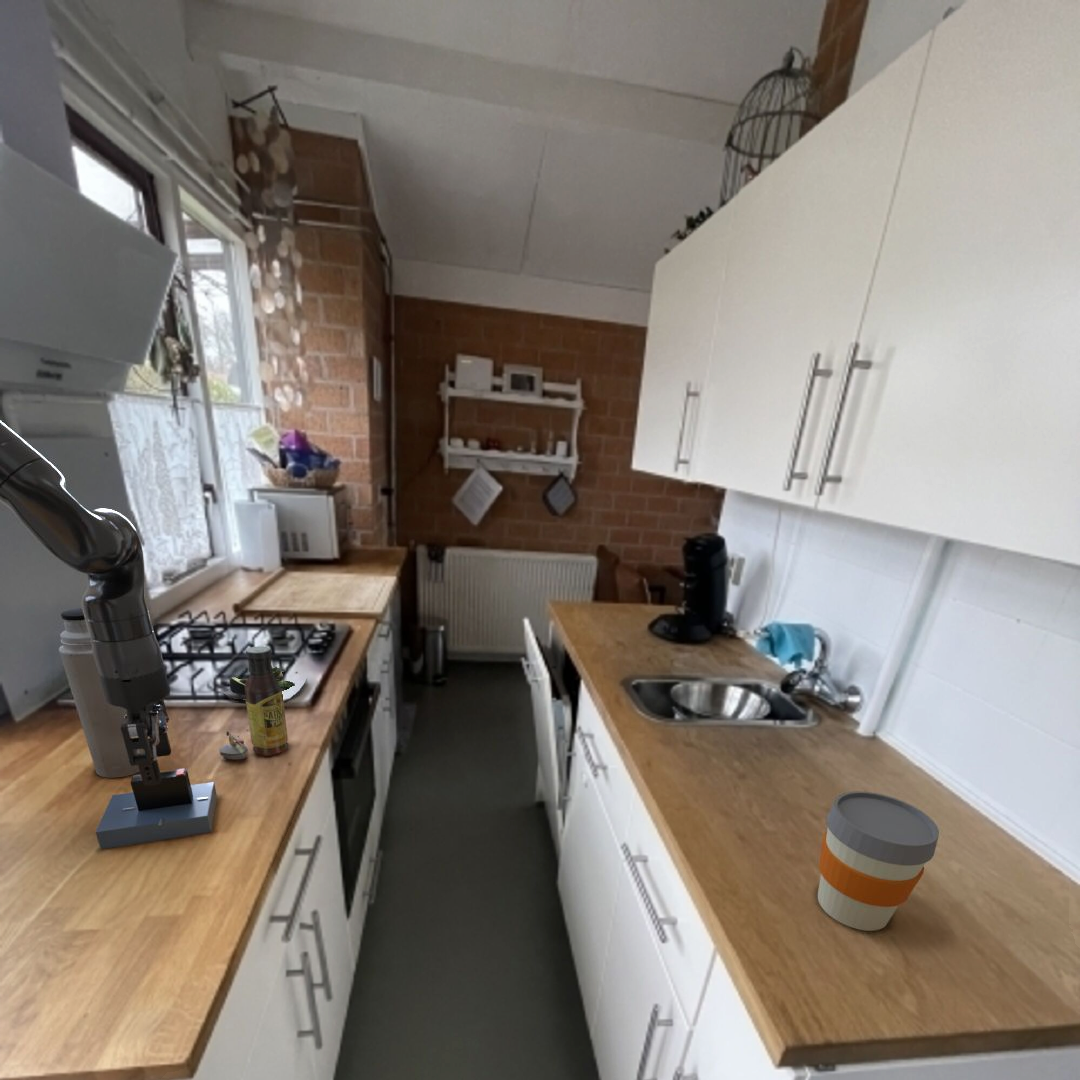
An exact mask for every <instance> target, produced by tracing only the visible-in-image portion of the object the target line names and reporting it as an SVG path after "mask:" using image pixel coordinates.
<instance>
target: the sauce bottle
mask: <svg viewBox="0 0 1080 1080" xmlns="http://www.w3.org/2000/svg"><path fill="white" fill-rule="evenodd" d="M245 657H246V659H247V661H248V662H247V663H248V672H249V673H250V676H249V678H248V680H247V682H246V684H245V693H246V703H245V705H246V712H247V719H248V726H249V733H250V740H251V744H252V750H253V752H254V753H255V754H257V755H259V756H263V757H264V756H265V757H266V756H274V755H279V754H281V753H283V752H284V751H285V750H286V749H287V748H288V745H289V744H288V740H289V738H288V729H287V720H286V712H285V711H286V710H285V703H284V702H285V701H283V694H282V690H281V688H280V686H279V684H278V682H277V680H276V678H275V676H274V673H273V669H272V666H273V664H272V651H271V648H270V647H268V646H262V645H261V646H251V647H248V648H246V649H245Z"/></svg>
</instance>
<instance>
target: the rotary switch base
mask: <svg viewBox="0 0 1080 1080" xmlns="http://www.w3.org/2000/svg"><path fill="white" fill-rule="evenodd" d="M190 785H191V789H192V793H193V800H192V803H191V804H184V805H177V806H170V807H163V808H155V809H148V810H141V811H138V808H137V804H136V800H135V797H134V793H133V791H132V792H125V793H118V794H112V795H111V797H110V800H109V802H108V804H107V806H106V808H105V810H104V812H103V815H102V817H101V819H100V821H99V823H98V825H97V828H96V830H95V836H96V839H97V842H98V845H99V848H100V850H104V849H112V848H118V847H124V846H131V845H137V844H144V843H150V842H156V841H157V842H158V841H162V840H163V841H164V840H170V839H176V838H182V837H188V836H189V837H190V836H195V835H201V834H208V833H212V828H213V824H214V817H215V813H216V806H217V802H218V794H217V789H216V784H215V782H214V781H211V782H202V783H194V784H190Z"/></svg>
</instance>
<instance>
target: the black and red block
mask: <svg viewBox="0 0 1080 1080" xmlns="http://www.w3.org/2000/svg"><path fill="white" fill-rule="evenodd" d="M160 773H161V776H162V781H161V783H160V784H156V785H148V786H147V785H144V784H143V781H142V777H141V774H134V775H133V776H132V777H131V780H130V787H131V789H132V792H133V793H134V797H135V800H136V804H137V808H138V811H141V810H148V809H155V808H163V807H170V806H177V805H184V804H191V803H192V800H193V793H192V789H191V785H192V784H191V781H190V776H189V771H188V769H187V768H185V767H183V768H177V769H176V770H167V771H160Z"/></svg>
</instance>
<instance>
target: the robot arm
mask: <svg viewBox="0 0 1080 1080" xmlns="http://www.w3.org/2000/svg"><path fill="white" fill-rule="evenodd" d="M66 483H67V482H66V479H65V477H64V475H63V474H62V472H60V470H58V468H57V467H56V466H54V464H52V463H51V462H50V461H48V460H47V459H46V458H45V457H44V456H43V455H42V454H41V453H40V452H38V451H37V450H36V449H35V448H33V447H32V446H31V445H30V444H29V443H28V442H27V441H25V440H24V439H23V438H22V437H21V436H19V435H18V434H17V433H16V432H15V431H14V430H12V429H11V428H10V427H8V426H7V425H6V424H5V423H4V422H2V420H0V503H2V504H3V505H4V506H6V507H7V508H8V509H10V510H11V511H12V512H13V514H14V516H16V517H17V519H18V520H19V521H20V522H21V524H22V525H23V526H24V527H25V528H26V529H27V530H28V531H29V533H31V535H32V536H33V537H34V538H35V539H36V540H37V542H39V544H41V546H42V547H43V548H44V549H46V551H47V552H48V553H49V554H51V556H53V557H54V558H55V559H57V560H58V561H60V562H61V563H62V564H64V565H66V566H67V567H69V568H70V569H73V570H75V571H77V572H79V573H82V574H86V578H87V588H86V590H85V591H84V594H83V595H82V596H81V608H82V609H83V614H84V617H85V621H86V624H87V628H88V631H89V634H90V637H91V642H92V651H93V656H94V660H95V663H96V667H97V670H98V673H99V677H100V680H101V684H102V687H103V690H104V694H105V697H106V700H107V702H108V703H109V704H111V705H113V706H117V707H118V706H119V707H122V708H125V709H126V710H127V715H125V716H124V720H125V724H122V725H121V731H122V734H123V738H124V742H125V746H126V749H127V753H128V757H129V763H130V764H131V766H135V765H138V767H139V770H140V771H139V773H140V774H139V775H141V777H142V781H143V784H144V785H147V786H148V785H156V784H160V783H161V781H162V776H161V773H160V772H161V769H160V766H159V761H158V758H161V757H169V756H170V755H172V747H171V743H170V740H169V736H168V730H169V726H168V723H169V720H170V717H169V715H168V712H167V708H166V703H165V699H166V698H167V697H168V696H169V694H170V692H171V688H170V684H169V680H168V675H167V671H166V667H165V663H164V659H163V655H162V650H161V648H160V644H159V642H158V639H157V637H156V634H155V632H154V631H155V630H154V628H153V623H152V619H151V615H150V611H149V607H148V603H147V601H146V594H145V592H146V591H145V590H146V577H145V561H144V551H143V547H142V543H141V539H140V536H139V534H138V532H137V530H136V528H135V526H134V525H133V524H132V522H131V521H130V520H129V519H128V518H127V517H126V516H124V515H123V514H121V513H120V512H118V511H115V510H113V509H109V508H101V507H100V508H99V507H98V508H92V509H88V510H87V509H86V508H85V507H84V506H83V505H81V503H79V502H78V500H76V499H75V498H74V497H73V496H72V495H71V494H70V493H69V491H67V490H66V487H67V484H66ZM140 749H144V751H145V754H140Z"/></svg>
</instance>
